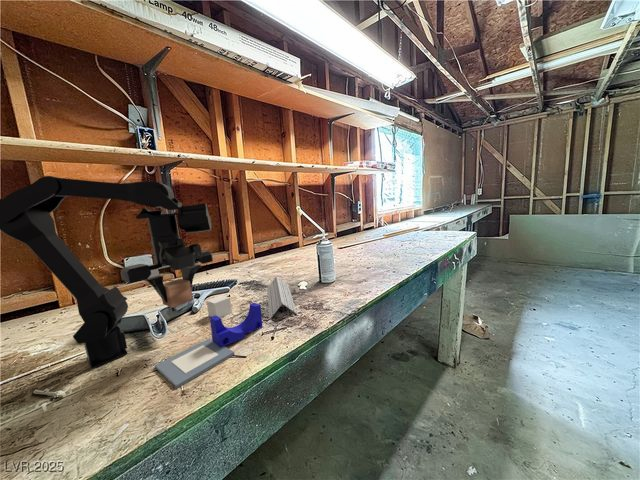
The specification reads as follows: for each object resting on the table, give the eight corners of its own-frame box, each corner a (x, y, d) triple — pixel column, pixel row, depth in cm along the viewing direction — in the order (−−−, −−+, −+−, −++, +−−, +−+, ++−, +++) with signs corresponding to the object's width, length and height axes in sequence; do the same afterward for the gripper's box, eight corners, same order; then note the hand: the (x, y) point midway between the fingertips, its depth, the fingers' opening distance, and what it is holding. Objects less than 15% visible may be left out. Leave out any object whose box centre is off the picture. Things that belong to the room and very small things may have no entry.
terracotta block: (172, 307, 59) (168, 287, 58) (163, 304, 62) (159, 284, 61) (193, 299, 63) (189, 280, 62) (183, 296, 66) (180, 278, 65)
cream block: (217, 319, 74) (214, 303, 73) (208, 315, 77) (206, 300, 77) (232, 312, 78) (229, 297, 77) (223, 309, 81) (221, 294, 80)
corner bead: (266, 289, 99) (264, 276, 98) (289, 285, 101) (287, 273, 100) (268, 321, 71) (265, 304, 70) (299, 315, 73) (297, 299, 72)
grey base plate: (176, 388, 46) (176, 385, 46) (155, 367, 53) (154, 364, 53) (234, 354, 55) (234, 351, 55) (209, 340, 62) (209, 337, 62)
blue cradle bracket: (220, 347, 57) (217, 322, 57) (212, 341, 60) (209, 317, 60) (265, 328, 66) (263, 306, 65) (256, 323, 69) (254, 302, 68)
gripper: (130, 244, 48) (147, 321, 50) (219, 229, 62) (229, 289, 65) (112, 243, 54) (128, 310, 57) (197, 230, 69) (206, 284, 71)
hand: (177, 298), depth 62 cm, fingers closed on terracotta block, 5 cm apart
